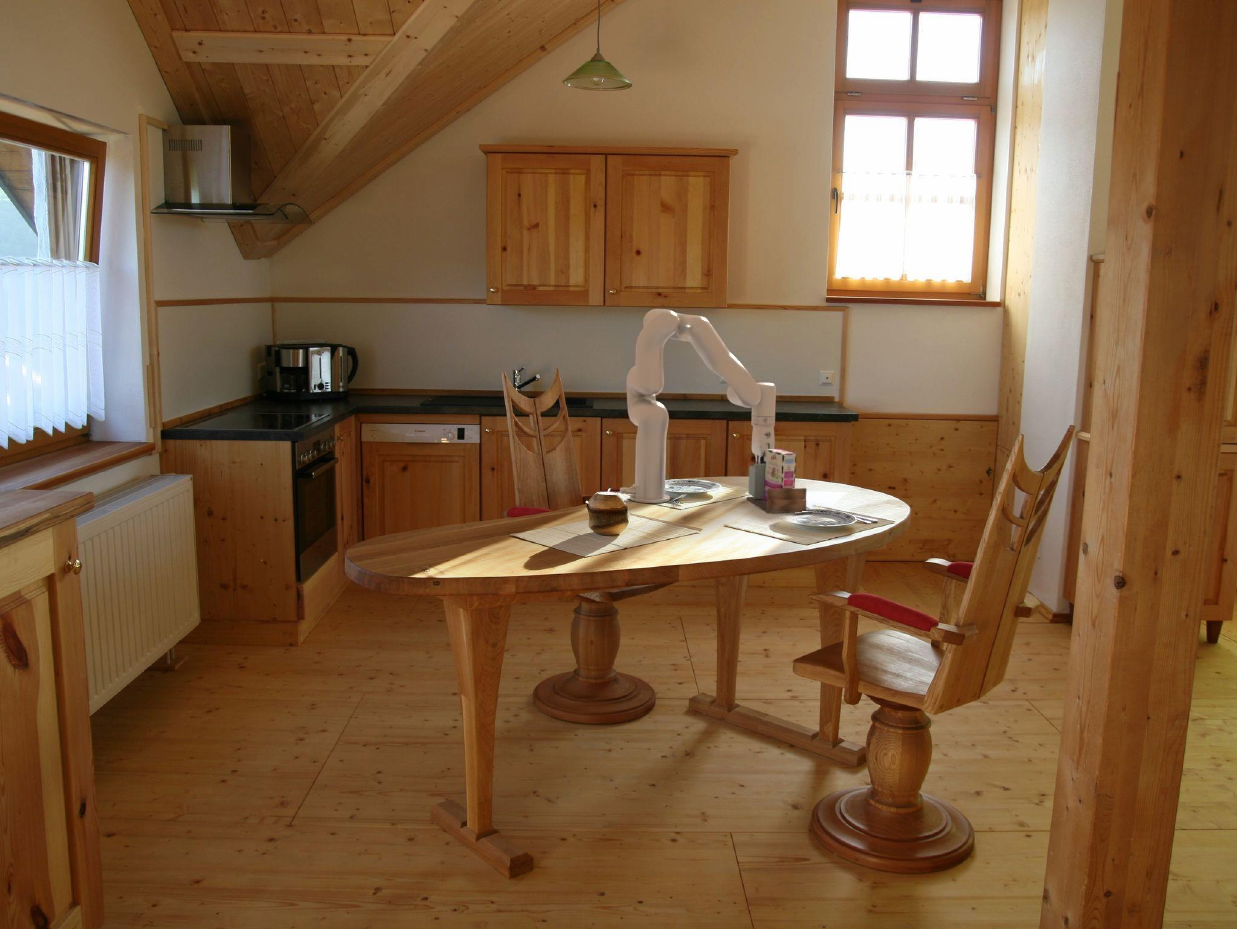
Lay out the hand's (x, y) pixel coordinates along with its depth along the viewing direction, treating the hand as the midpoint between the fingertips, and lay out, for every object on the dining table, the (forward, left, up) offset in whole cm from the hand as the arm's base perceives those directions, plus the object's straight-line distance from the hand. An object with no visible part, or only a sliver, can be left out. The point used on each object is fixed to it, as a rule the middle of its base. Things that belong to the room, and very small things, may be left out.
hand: (761, 476), depth 350 cm
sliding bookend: (0, -7, -5) cm, 9 cm away
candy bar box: (0, -18, -6) cm, 18 cm away
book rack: (0, -17, -6) cm, 18 cm away
